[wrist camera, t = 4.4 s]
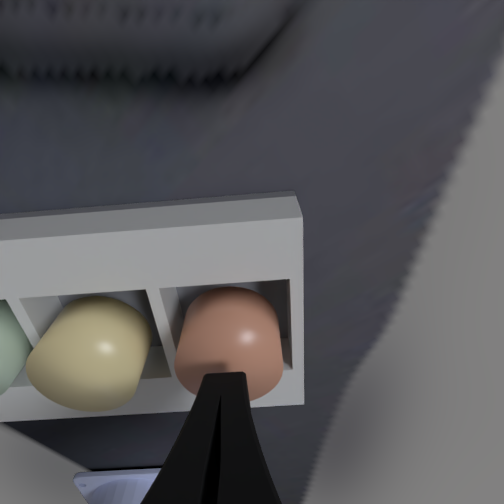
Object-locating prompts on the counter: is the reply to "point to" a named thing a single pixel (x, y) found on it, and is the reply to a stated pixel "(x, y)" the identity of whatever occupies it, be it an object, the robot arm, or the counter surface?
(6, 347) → the sage button
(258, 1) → the counter surface
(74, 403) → the mustard button
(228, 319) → the terracotta button
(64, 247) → the console
